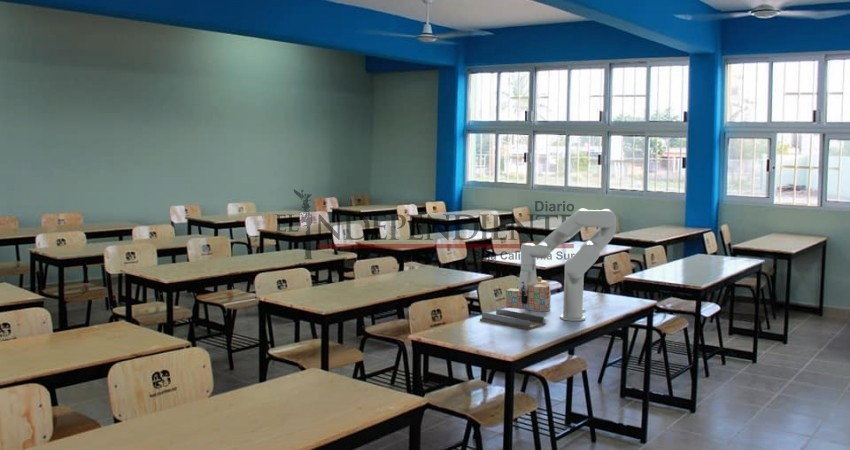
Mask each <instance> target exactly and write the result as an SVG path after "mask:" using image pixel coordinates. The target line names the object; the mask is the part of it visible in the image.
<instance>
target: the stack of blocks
mask: <svg viewBox="0 0 850 450" xmlns="http://www.w3.org/2000/svg"><path fill="white" fill-rule="evenodd" d="M529 287H530V288H529V290H528V291H527V295H526V296H527V304H524V303H522V298H521V293H520V291H519V288H508V289H506V290H505V291H506V292H505V296H506V297H505V298H506V303H505V304H506V309H507V308H508V309H515V310H516V309H519V310H528V311H531V310H538V311H537V312H547V311H546V310H548V309H549V287H550V285H540V284H538V285H537V284H536V285H532V286H529ZM523 289H525V288H524V287H523ZM524 292H525V291H524Z"/></svg>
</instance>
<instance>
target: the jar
mask: <svg viewBox="0 0 850 450" xmlns="http://www.w3.org/2000/svg"><path fill="white" fill-rule="evenodd" d="M537 284H540V285H549V309H548V310H546V311H545V312H548V311H550V310H551V308H552V307H551V306H552V305H551V303H552V302H551V301H552V299H551V296H552V293H551V290H552V287H551V286H550V285H551V284H550V282H548V281H547V280H544V279H543V278H542V277H541V276H537ZM532 312H539V311H538V310H532Z"/></svg>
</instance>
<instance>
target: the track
mask: <svg viewBox="0 0 850 450" xmlns="http://www.w3.org/2000/svg"><path fill="white" fill-rule="evenodd" d="M479 321H480V322H484V323H485V322H486V323H491V324H496V325H500V326H503V327H504V326H506V327H509V328H516V329H519V330H525V331H529V330H533V329H535V328H539V327H543V326H546V324H547V323H546V322H545V316H539V315H533V314H528V313H524V312H519V311H518V312H517V311H512V310H508V309H502V308H496V310H495V313H491V312H487V311H486V312H485V311H482V312H481V318H479Z"/></svg>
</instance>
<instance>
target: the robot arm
mask: <svg viewBox="0 0 850 450" xmlns="http://www.w3.org/2000/svg"><path fill="white" fill-rule="evenodd" d="M583 228H597V229H596V230H595V231H594V233H593V234H592V235H591V236H590V237H588V239H587V240H586V241H585V242H584V243H583V244H582V245H581V246H580V248H579V250H578V251H577V252H576V253H575V254H574V255H573V256H570V257H569V258H567V259H566V260H565V263H564V281H563V282H564V284H563V285H564V286H563V308H562V309H563V311H562V314H560V315H559V319H560V320H563V321H569V322H570V321H571V322H580V321H582V322H583V321H586V316H584V313H586V312H587V311H586V309H585V308H583V307H584V301H583V300H584V280H585V279H584V278H585V273H586V272H588V270H589V269H590V268H591V267H593V265H594V264H595V263H596V261H597V260H598V259H599V257H600V255H601V252H602V250H604V248H606V247H607V245H608V244H609V243H610V242H611V241H612V239H613V238H614V236H615V234H616V231H617V217H616V214H615V212H614V211H612V210H611V209H610V208H604V209H601V210H599V209H596V210H594V209H587V208H579V209H577V210H576V211H574V213H572V214H571V215H570V216H568V218H567V219H566V220H564V221H563V222H562V223H561V224H560V225H558V226H557V227H556V228H555V229H554V230H553V231H552V232H551V233H549V234H548V235H547V236H546V237H545V238H544V239H542V240H541V241H540V242H539V243H538V244H535V243H529V242H527V243H525V242H524V243H522V244H521V246H520V273H519V281H518V283H519V284H518V289H519V291H520V293H521V298H522V303H524V304H527V296H526V295H527V291H528V290H529V288H530V287H529V286H532V285H536V284H537V278H538V276H537V265H536V264H537V263H536V262H537V259H543V260H544V259H548V257H550V255H551V253H552V252H553V251H555V249H556V248H558V247H559V246H560V245H562V244H563V243H565V242H567V241H569V240H571V239H572V238H573V237H574V236H576V234H578V233H579V232H580V231H581V230H583ZM537 285H538V284H537ZM523 287H524V288H525V289H523ZM524 291H525V292H524Z"/></svg>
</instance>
